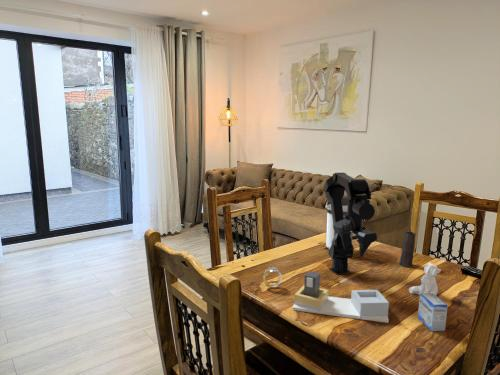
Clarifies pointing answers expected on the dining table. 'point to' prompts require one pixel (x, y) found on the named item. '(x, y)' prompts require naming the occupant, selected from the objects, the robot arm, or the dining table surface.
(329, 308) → the panel board
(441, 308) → the medicine box
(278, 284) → the ring
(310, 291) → the plug
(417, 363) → the dining table surface
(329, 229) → the coffee press
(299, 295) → the low dock
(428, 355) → the dining table surface
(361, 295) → the raised dock
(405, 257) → the butter churn
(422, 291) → the white creature statuette
